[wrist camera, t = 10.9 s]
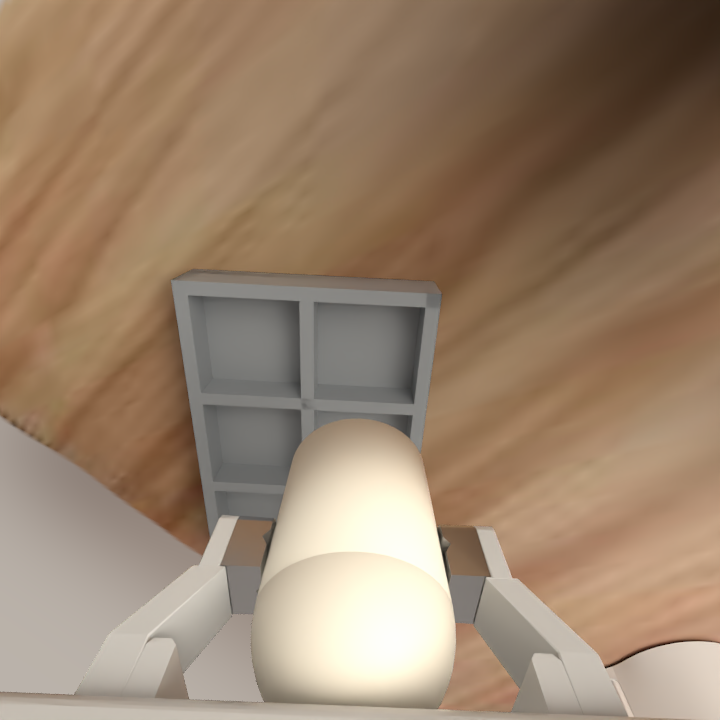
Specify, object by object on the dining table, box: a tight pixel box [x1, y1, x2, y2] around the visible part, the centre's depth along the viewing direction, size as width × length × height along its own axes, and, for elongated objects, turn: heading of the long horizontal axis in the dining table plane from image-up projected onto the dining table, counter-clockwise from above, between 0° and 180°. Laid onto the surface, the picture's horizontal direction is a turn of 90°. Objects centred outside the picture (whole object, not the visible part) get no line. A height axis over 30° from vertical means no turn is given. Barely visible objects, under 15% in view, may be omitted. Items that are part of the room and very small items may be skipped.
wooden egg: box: [251, 419, 456, 709], centre depth 10 cm, size 5×5×7 cm
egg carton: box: [171, 269, 442, 538], centre depth 27 cm, size 22×15×3 cm
